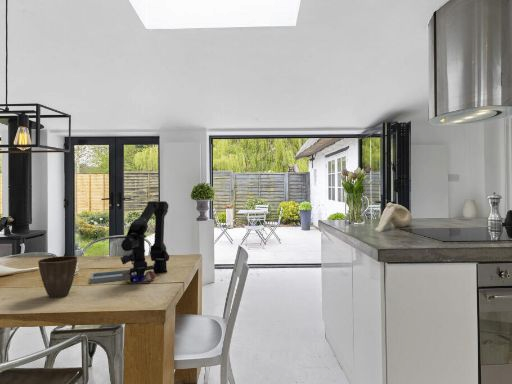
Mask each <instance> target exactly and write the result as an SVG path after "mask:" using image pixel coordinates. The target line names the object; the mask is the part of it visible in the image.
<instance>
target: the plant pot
mask: <svg viewBox="0 0 512 384" xmlns="http://www.w3.org/2000/svg"><path fill="white" fill-rule="evenodd" d="M77 264H78V256H75V255H68V256H67V255H64V256H60V255H59V256H52V257H46V258H42V259H39V260H38V261H37V265H38V269H39V274H40V278H41V281H42V284H43V287H44V290H45V292H46V294H47V295H48V298H50V299H51V298H52V299H56V298H57V299H58V298H62V297H63V298H64V297H66V296H68V295H69V294H70V291H71V288H72V285H73V283H74V278H75V274H76V269H77Z"/></svg>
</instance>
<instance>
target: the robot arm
mask: <svg viewBox="0 0 512 384" xmlns="http://www.w3.org/2000/svg"><path fill="white" fill-rule="evenodd" d="M168 212H169V203H168V202H167V200H166V201H164V200H161V201H159V200H158V201H156V200H152V201H151V200H150V201H147V203H146V206H145V208H144V209H143V211H142V212H141V214H140V215H139V217H138V218H136V219H134V220H133V221H132V222H131V223H130V225H129V227H128V231H127V233H126V236H125V237H124V239H123V240H122V242H121V245H120V246H121V248H122V250H123V251H124V252H129V251H131V252H130V253H127V254H124V255H123V256H121V257H120V261H121V264H122V265H126V264H127V263H129V262H130V263H131V265H132V268H134V270H136V271H137V272H136V274H137V275H138V280H139V281H138V282H142V281H141V280H142V278H143V275H145V274H146V273H145V272H146V271H147V270H146V269H147V266H148V263H147V261H146V257H145V256H146V255H145V254H146V253H145V252H146V248H145V238H147V235H146V233H147V230H148V227H149V225H148V223H149V221H150V220H151V218H152V216H153V215H154V216H155V221H154V222H155V223H154V243H153V244H152V245H151V246H150V248H149V249H150V252H149V256H150V260H151V262H153V263H152V265H153V266H154V269H153V271H152V272H154V274H159V273H166V272H167V273H168V269H167V268H168V267H167V262H169V260H170V255H169V253H168V252H167V246H166V244H165V243H164V242H165V241H164V237H165V234H164V233H165V217H166V216H167V214H168ZM145 270H146V271H145Z"/></svg>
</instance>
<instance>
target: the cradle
mask: <svg viewBox="0 0 512 384" xmlns="http://www.w3.org/2000/svg"><path fill="white" fill-rule="evenodd" d="M124 272H129V273H130V268H129V269H122V270H111V271H102V272H100V271H99V272H92V273H91V275H90V284H91V285H92V284H100V283H110V282H111V281H112V282H120V281H124V280H123V277H122V274H123V273H124ZM133 276H137V274H136V272H132V277H133Z"/></svg>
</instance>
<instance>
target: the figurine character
mask: <svg viewBox="0 0 512 384" xmlns="http://www.w3.org/2000/svg"><path fill="white" fill-rule="evenodd" d="M129 269H130V273H129V272H124V273H123V274H122V277H123V280H122V281H125V282H126V284H127V285H130V284H134V283H138V282H143V281H145V280H146V281H147V282H152V281H154V280H155V278H156V275H155V274H156V273H155V272H154V271H152V270H153V269H154V266H153V264H151V265H147V269H146V270H145V272H146V271H147V272H146V273H144V275H143V278H142V280H141V281H139V280H138V275H137V276H133V277H132V272H137V271H136V270H134V268H133V267H132V268H129Z"/></svg>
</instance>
